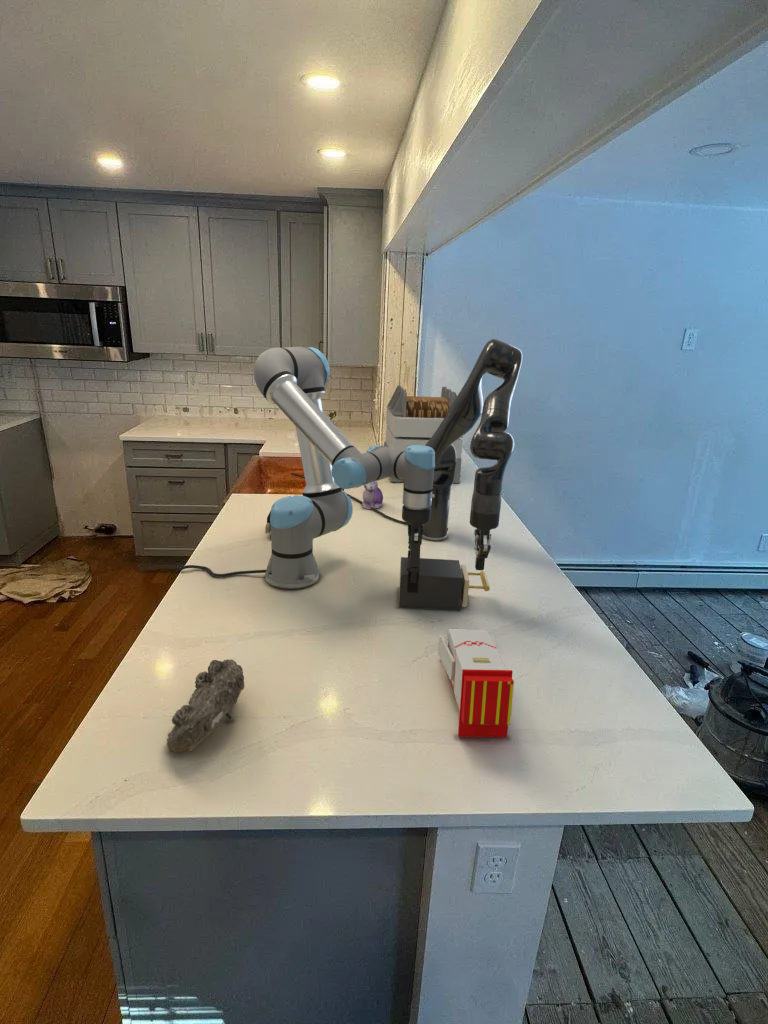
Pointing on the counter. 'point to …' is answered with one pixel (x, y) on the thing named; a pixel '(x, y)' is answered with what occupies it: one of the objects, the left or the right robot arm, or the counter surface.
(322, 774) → the counter surface
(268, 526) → the figurine character
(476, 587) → the drawer
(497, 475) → the right robot arm
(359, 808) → the counter surface
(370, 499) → the figurine
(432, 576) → the cabinet
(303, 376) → the left robot arm
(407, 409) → the transformer
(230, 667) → the fossil
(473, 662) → the toy
